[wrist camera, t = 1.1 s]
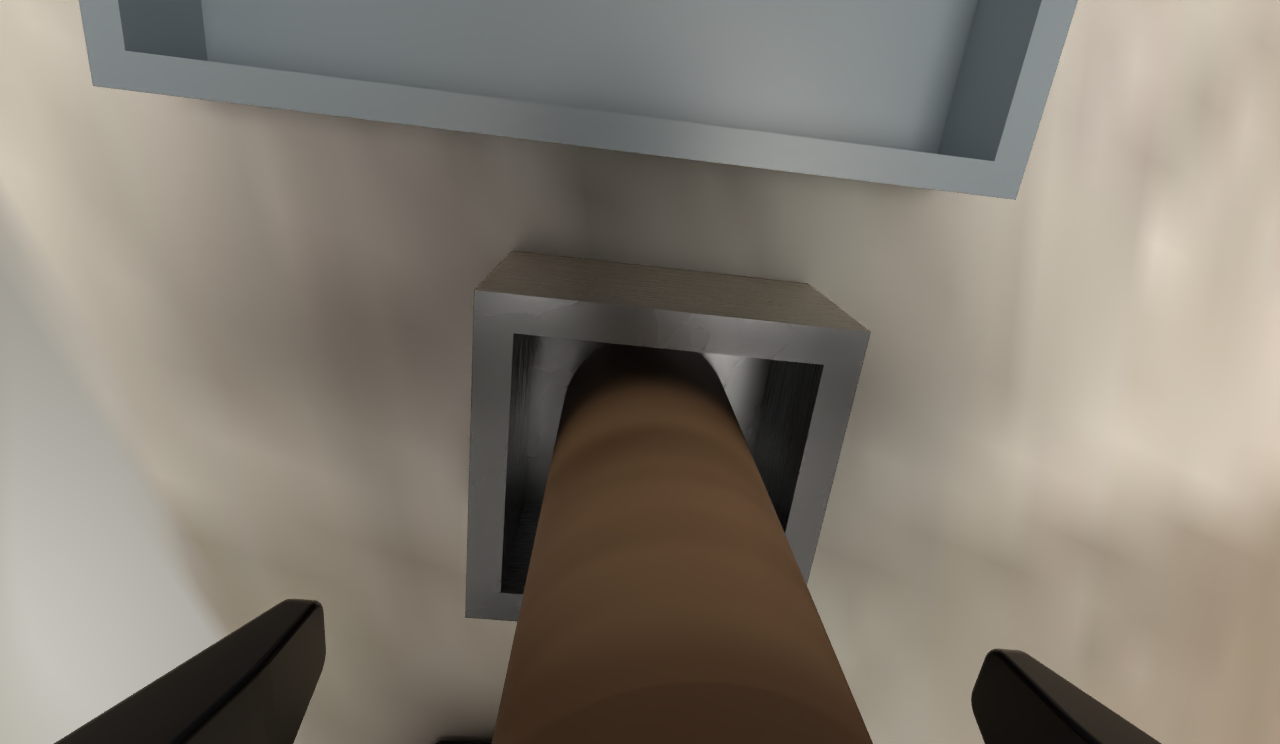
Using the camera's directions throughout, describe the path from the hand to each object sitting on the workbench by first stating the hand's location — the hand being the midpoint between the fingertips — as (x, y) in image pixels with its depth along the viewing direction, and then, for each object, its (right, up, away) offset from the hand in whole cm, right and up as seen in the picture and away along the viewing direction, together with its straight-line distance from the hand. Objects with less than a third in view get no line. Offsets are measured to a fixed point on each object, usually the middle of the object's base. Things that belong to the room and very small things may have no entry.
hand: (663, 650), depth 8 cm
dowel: (0, +3, +7) cm, 8 cm away
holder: (0, +3, +8) cm, 8 cm away
